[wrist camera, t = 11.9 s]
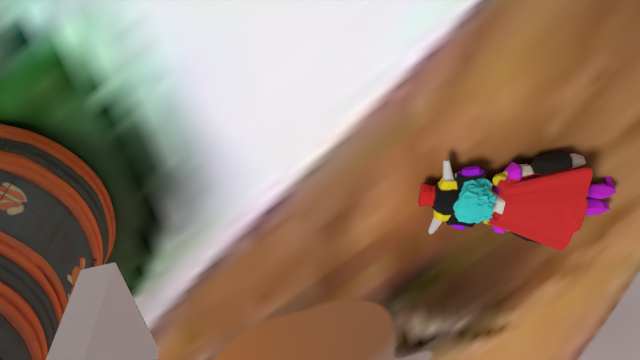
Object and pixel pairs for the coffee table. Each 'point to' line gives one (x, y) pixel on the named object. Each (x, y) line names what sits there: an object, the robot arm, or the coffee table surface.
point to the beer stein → (45, 237)
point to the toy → (520, 198)
